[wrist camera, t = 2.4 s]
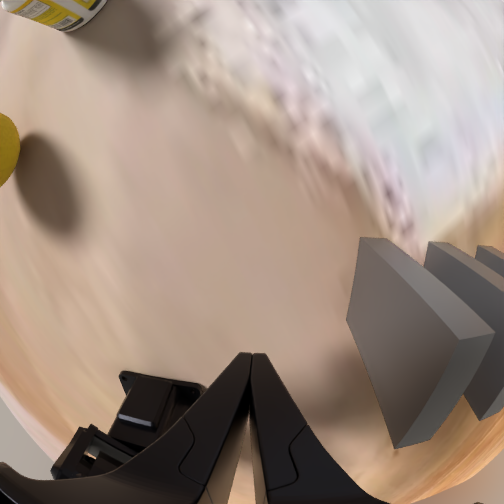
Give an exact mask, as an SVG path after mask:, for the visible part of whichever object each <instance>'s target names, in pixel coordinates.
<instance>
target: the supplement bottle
mask: <svg viewBox="0 0 504 504" xmlns="http://www.w3.org/2000/svg"><path fill="white" fill-rule="evenodd" d="M0 1H2V7H3V9H4V10H5V11H7V12H10V13H13V14H16V15H19V16H22V17H25V18H28V19H31V20H34V21H36V22H39V23H42V24H44V25H47V26H49V27H52V28H55V29H57V30H59V31H63V32H69V31H73V30H75V29H77V28H79V27H81V26H83V25H84V24H86V23H87V22H88V21H89V20H90V19H92V18H93V17H94V16H95V15H96V14H97V13H98V12H99V10H100V9H101V8H102V7H103V6H104V4H105V3H106V1H107V0H0Z"/></svg>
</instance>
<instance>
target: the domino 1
mask: <svg viewBox="0 0 504 504" xmlns="http://www.w3.org/2000/svg"><path fill="white" fill-rule="evenodd" d="M346 321H347V323H348V325H349V328H350V330H351V333H352V335H353V337H354V340H355V342H356V345H357V347H358V350H359V352H360V355H361V357H362V360H363V362H364V365H365V367H366V370H367V372H368V375H369V378H370V380H371V383H372V386H373V388H374V391H375V394H376V396H377V399H378V402H379V405H380V408H381V410H382V413H383V416H384V419H385V422H386V425H387V428H388V431H389V434H390V437H391V440H392V443H393V446H394V449H398V448H402V447H406V446H410V445H414V444H417V443H421V442H424V441H428V440H430V439H431V438H432V436H433V435H434V434H435V433H436V431H437V430H438V429H439V427H440V426H441V425H442V424H443V422H444V421H445V419H446V418H447V417H448V415H449V414H450V412H451V411H452V410H453V408H454V407H455V405H456V404H457V402H458V401H459V399H460V398H461V396H462V394H463V393H464V391H465V390H466V388H467V386H468V385H469V383H470V381H471V380H472V378H473V376H474V374H475V373H476V371H477V369H478V367H479V365H480V364H481V362H482V360H483V358H484V356H485V354H486V352H487V350H488V348H489V346H490V344H491V341H492V339H493V337H494V335H495V333H496V332H495V331H494V330H493V329H492V328H491V327H490V326H489V325H488V324H487V323H486V322H485V321H484V320H483V319H481V318H480V317H479V316H478V315H477V314H476V313H475V312H474V311H473V310H472V309H471V308H470V307H469V306H468V305H467V304H466V303H465V302H463V301H462V300H461V299H460V298H459V297H458V296H457V295H456V294H455V293H453V292H452V291H451V290H450V289H449V288H448V287H447V286H445V285H444V284H443V283H442V282H441V281H440V280H438V279H437V278H436V277H435V276H434V275H432V274H431V273H430V272H429V271H428V270H426V269H425V268H424V267H423V266H422V265H420V264H419V263H418V262H417V261H415V260H414V259H413V258H412V257H410V256H409V255H408V254H406V253H405V252H404V251H403V250H401V249H400V248H399V247H397V246H396V245H395V244H393V243H392V242H391V241H389V240H388V239H385V238H367V237H360V242H359V249H358V256H357V263H356V269H355V275H354V281H353V287H352V292H351V298H350V303H349V308H348V313H347V318H346Z"/></svg>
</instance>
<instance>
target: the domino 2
mask: <svg viewBox="0 0 504 504" xmlns="http://www.w3.org/2000/svg"><path fill="white" fill-rule="evenodd" d="M424 268H425V269H426V270H428V271H429V272H430V273H431V274H432V275H434V276H435V277H436V278H437V279H438V280H440V281H441V282H442V283H443V284H444V285H445V286H447V287H448V288H449V289H450V290H451V291H452V292H453V293H455V294H456V295H457V296H458V297H459V298H460V299H461V300H462V301H463V302H465V303H466V304H467V305H468V306H469V307H470V308H471V309H472V310H473V311H474V312H475V313H476V314H477V315H478V316H479V317H480V318H481V319H483V320H484V321H485V322H486V323H487V324H488V325H489V326H490V327H491V328H492V329H493V330H494V331H495V332H496V333H495V335H494V337H493V339H492V341H491V344H490V346H489V348H488V350H487V352H486V354H485V356H484V358H483V360H482V362H481V364H480V365H479V367H478V369H477V371H476V373H475V374H474V376H473V378H472V380H471V381H470V383H469V385H468V386H467V388H466V390H465V391H464V393H463V394H464V396H465V398H466V399H467V401H468V403H469V404H470V406H471V408H472V409H473V411H474V413H475V415H476V416H477V418H478V420H479V421H481V420H483V419H485V418H487V417H490V416H492V415H494V414H496V413H498V412H500V411H501V409H502V408H503V407H504V278H503V277H502V276H501V275H499V274H498V273H496V272H495V271H493V270H492V269H490V268H489V267H487V266H485V265H484V264H482V263H481V262H479V261H478V260H476V259H474V258H473V257H471V256H470V255H468V254H466V253H465V252H463V251H461V250H460V249H458V248H456V247H455V246H453V245H451V244H449V243H444V242H430V241H429V243H428V248H427V253H426V258H425V263H424Z"/></svg>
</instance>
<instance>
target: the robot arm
mask: <svg viewBox="0 0 504 504" xmlns="http://www.w3.org/2000/svg"><path fill="white" fill-rule="evenodd" d="M119 379H120V381H121V384H122V386H123V389H124V391H125V394H126V397H125V399H124V401H123V403H122V405H121V407H120V409H119V411H118V412H117V417H116V419H115V421H114V423H113V424H112V426H111V428H110V430H109V432H108V434H105V433H103V432H102V431H100V430H98V428H97V427H96V426H94V425H93V424H90V426H89V427H88V428H83V427H79V428H78V430H77V432H76V433H75V435H74V437H73V438H72V440H71V442H70V443H69V445H68V446H67V447H66V449H65V450H64V451H63V453H62V454H61V455H60V457H59V458H58V459H57V461H56V462H55V463H54V465H53V466H52V468H51V474H52V476H53V479H54V480H35V479H30V478H27V477H24V476H22V475H20V474H19V473H18V472H16V471H15V470H14V469H12V468H11V467H10V466H9V465H7V464H6V463H4V462H0V504H227V503H228V499H229V495H230V492H231V488H232V484H233V480H234V476H235V472H236V468H237V464H238V460H239V456H240V452H241V448H242V443H243V439H244V435H245V431H246V426H247V422H248V417H249V421H250V435H251V449H252V462H253V475H254V487H255V499H256V504H390V503H387V502H384V501H382V500H379V499H377V498H374V497H373V496H371V495H369V494H368V493H366V492H365V491H364V490H362V489H361V488H360V487H359V486H358V485H357V484H356V483H355V482H354V481H353V480H352V479H351V478H350V476H349V475H348V474H347V473H346V472H345V471H344V470H343V469H342V468H341V467H340V466H339V465H338V464H337V462H336V461H335V460H334V459H333V458H332V457H331V456H330V454H329V453H328V452H327V451H326V450H325V448H324V447H323V446H322V444H321V443H320V442H319V440H318V439H317V437H316V436H315V434H314V433H313V431H312V430H311V428H310V426H309V425H307V422H306V420H305V419H304V417H303V415H302V414H301V412H300V410H299V409H298V407H297V405H296V404H295V402H294V401H293V399H292V397H291V396H290V394H289V392H288V391H287V389H286V387H285V386H284V384H283V382H282V380H281V379H280V377H279V375H278V374H277V372H276V370H275V369H274V367H273V365H272V363H271V362H270V360H269V358H268V356H267V355H266V354H265V353H254V354H253V355H252V353H247V352H240V353H239V354H238V355H237V356H236V357H235V358H234V359H233V360H232V362H231V363H230V364H229V365H228V366H227V367H226V368H225V370H224V371H223V372H222V373H221V374H220V375H219V376H218V378H217V379H216V380H215V381H214V382H213V383H212V384H211V385H210V387H209V388H208V389H207V390H206V391H205V392H204V393H203V394H202V389H201V387H200V386H199V385H198V384H195V383H189V382H182V381H175V380H169V379H163V378H158V377H152V376H147V375H142V374H137V373H132V372H128V371H121V373H120V374H119ZM193 389H194V390H193ZM88 453H90V454H91V455H93V456H95V457H96V460H95V459H94V458H92V457H89V456H88V455H87V454H88ZM474 504H483V503H480V502H476V503H474Z"/></svg>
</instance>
